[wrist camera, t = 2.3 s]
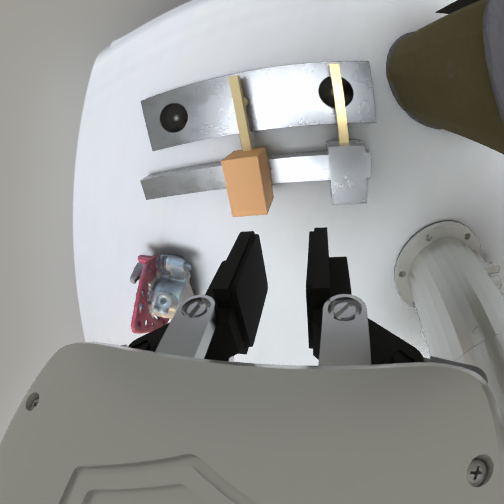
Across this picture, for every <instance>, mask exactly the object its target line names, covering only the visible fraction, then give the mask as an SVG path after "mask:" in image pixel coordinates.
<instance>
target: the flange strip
mask: <svg viewBox="0 0 504 504" xmlns="http://www.w3.org/2000/svg"><path fill="white" fill-rule="evenodd" d="M329 64H339V67H340V73H341V80H342V86H343V93H344V100H345V108H346V117H347V123H376V113H375V103H374V95H373V87H372V80H371V73H370V67H369V61H339V62H318V63H305V64H294V65H285V66H277V67H270V68H264V69H258V70H252V71H246V72H241V73H236V74H231V75H227V76H222V77H218V78H214V79H210V80H206V81H202V82H198V83H194V84H191V85H187V86H184V87H181V88H177V89H174V90H171V91H168V92H165V93H162V94H159V95H156V96H153V97H150V98H148V99H145V100H142V101H141V104H142V109H143V113H144V118H145V122H146V126H147V130H148V135H149V139H150V143H151V147H152V150H153V151H156V150H160V149H164V148H168V147H172V146H176V145H181V144H185V143H190V142H194V141H199V140H204V139H209V138H215V137H220V136H226V135H231V134H238V133H239V130H238V125H237V120H236V115H235V110H234V104H233V99H232V94H231V89H230V84H229V79H228V77H231V76H236V75H238V76H240V81H241V86H242V91H243V97H246V98H247V99H248V101H249V103H248V105H247V106H246V112H247V118H248V123H249V129H250V132H251V131H258V130H265V129H274V128H282V127H292V126H303V125H317V124H334V123H337V118H336V110H335V103H334V96H333V95H332V94H331V89H332V82H331V76H330V70H329Z"/></svg>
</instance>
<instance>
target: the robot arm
mask: <svg viewBox="0 0 504 504" xmlns="http://www.w3.org/2000/svg"><path fill="white" fill-rule="evenodd" d="M499 271H500V265H499V263H498V262H491V263H486V262H485V260H484V259H483V258H482V256H481V247H480V243H479V241H478V239H477V237H476V236H475V235H474V233H473V232H472V231H471V230H470V229H469V228H468V227H467V226H465V225H463V224H461V223H457V222H453V221H444V222H439V223H435V224H433V225H430V226H428V227H426V228H424V229H423V230H421V231H420V232H418V233H417V234H416V235H415V236H414V237H413V238H411V239H410V241H409V242H408V243H407V244H406V245H405V247H404V248H403V250H402V252H401V253H400V255H399V257H398V260H397V263H396V267H395V272H394V274H395V284H396V287H397V290H398V293H399V295H400V296H401V298H402V299H403V300H404V301H405V302H406V303H407V304H409V305H410V306H412V307H415V308H416V309H417V312H418V315H419V319H420V322H421V325H422V329H423V332H424V336H425V339H426V343H427V346H428V350H429V354H430V359H428V358H424V357H423V356H422V354H421V353H420V351H418V350H417V349H416V348H415V347H413V346H412V345H410V344H408V343H407V342H405V341H404V340H402V339H400V338H399V337H397V336H396V335H394V334H392V333H391V332H389V331H388V330H386V329H384V328H383V327H381V326H380V325H378V324H376V323H375V322H373V321H372V320H370V319H368V317H367V308H366V305H365V303H364V302H363V300H362V299H360V298H358V297H357V296H354V295H351V286H350V278H349V270H348V263H347V257H329V251H328V235H327V227H325V228H314V231H311V232H309V250H308V266H307V280H306V300H307V317H308V337H309V348H313V355H314V356H315V357H316V358H317V359H318V360H319V365H318V366H297V365H271V364H254V363H240V362H234V355H236V354H247V351H248V348H249V347H252V346H253V344H254V340H255V337H256V333H257V329H258V325H259V321H260V318H261V314H262V310H263V306H264V302H265V298H266V294H267V290H268V284H267V277H266V272H265V266H264V260H263V255H262V249H261V244H260V238H259V235H258V234H255V233H254V231H248V232H240V234H239V236H238V238H237V240H236V242H235V244H234V246H233V248H232V250H231V252H230V254H229V256H228V258H227V260H226V261H223V262H222V263H221V265H220V267H219V269H218V271H217V273H216V274H215V276H214V278H213V280H212V282H211V284H210V286H209V288H208V290H207V292H206V294H205V295H196V296H192V297H190V298H188V299H186V300H185V301H183V302H182V303H181V304H180V306H179V307H178V309H177V311H176V313H175V315H174V316H173V318H172V320H171V322H170V323H168V324H166V325H164V326H162V327H160V328H158V329H156V330H154V331H152V332H150V333H148V334H146V335H144V336H142V337H140V338H138V339H136V340H134V341H133V342H132V343H131V344H130V345H129V346H127V345H121V346H119V345H113V344H106V343H98V342H80V343H74V344H70V345H67V346H64V347H62V348H60V349H59V350H58V351H57V352H56V353H55V354H54V355H53V356H52V357H51V359H50V360H49V361H48V362H47V364H46V365H45V366H44V368H43V369H42V370H41V372H40V374H39V375H38V376H37V378H36V379H35V381H34V382H33V384H32V385H31V387H30V389H29V390H28V392H27V394H26V395H25V397H24V399H23V401H22V402H21V404H20V406H19V407H18V409H17V411H16V413H15V415H14V417H13V419H12V420H11V422H10V425H9V426H8V429H7V430H6V433H5V435H4V437H3V439H2V441H1V444H0V504H504V298H503V297H502V295H501V293H500V292H499V289H500V288H501V278H500V277H499V276H489V274H488V273H490V274H493V273H499Z"/></svg>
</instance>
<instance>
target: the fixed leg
mask: <svg viewBox="0 0 504 504" xmlns="http://www.w3.org/2000/svg"><path fill="white" fill-rule="evenodd" d="M329 70H330V76H331V82H332V89H331V94H332V95H333V96H334V103H335V110H336V118H337V127H338V137H339V141H326V143H327V153H328V163H329V175H330V189H331V197H332V203H333V205H335V204H361V203H367V182H366V156H365V145H364V144H363V143H362V142H361V141H360V140H349V137H348V126H347V117H346V108H345V100H344V93H343V86H342V80H341V73H340V67H339V64H329Z"/></svg>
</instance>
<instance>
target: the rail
mask: <svg viewBox="0 0 504 504" xmlns="http://www.w3.org/2000/svg"><path fill="white" fill-rule="evenodd" d="M365 156H366V178H371V157H370V153H369V152H368V151H367V150H366V149H365ZM267 158H268V165H269V171H270V177H271V183H272V184H275V183H287V182H300V181H316V180H330V175H329V163H328V153H327V151H315V152H301V153H289V154H279V155H269V156H267ZM141 184H142V187H143V191H144V194H145V197H146V200H149V199H155V198H161V197H167V196H174V195H180V194H187V193H194V192H202V191H209V190H217V189H226V188H227V187H226V183H225V178H224V173H223V169H222V164H221V162H216V163H210V164H204V165H198V166H192V167H187V168H182V169H176V170H171V171H166V172H162V173H157V174H152V175H149V176H147V177H145V178H144V179H142V180H141Z"/></svg>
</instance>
